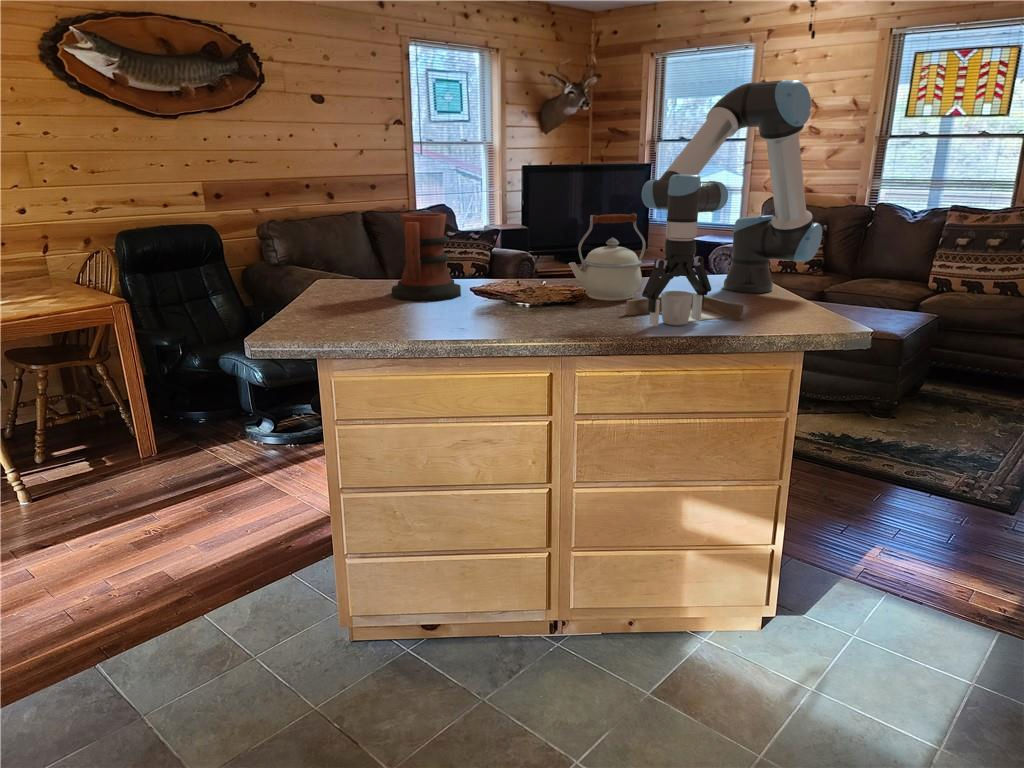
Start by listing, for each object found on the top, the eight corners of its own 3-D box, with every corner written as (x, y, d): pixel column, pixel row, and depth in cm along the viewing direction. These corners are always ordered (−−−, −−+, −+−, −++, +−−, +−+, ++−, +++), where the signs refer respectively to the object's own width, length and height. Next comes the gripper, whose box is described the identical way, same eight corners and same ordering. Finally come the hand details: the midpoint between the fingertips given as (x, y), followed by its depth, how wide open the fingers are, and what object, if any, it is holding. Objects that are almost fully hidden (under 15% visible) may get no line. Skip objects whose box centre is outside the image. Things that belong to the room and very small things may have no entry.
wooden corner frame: (692, 306, 211) (693, 293, 210) (742, 320, 194) (743, 305, 193) (625, 314, 201) (626, 300, 200) (671, 329, 184) (672, 314, 183)
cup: (691, 330, 184) (693, 299, 181) (659, 329, 185) (660, 297, 183) (690, 321, 194) (692, 291, 191) (659, 319, 195) (661, 290, 193)
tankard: (468, 289, 238) (467, 212, 230) (449, 305, 215) (446, 219, 207) (404, 288, 242) (400, 211, 234) (377, 302, 218) (372, 218, 211)
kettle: (628, 289, 238) (632, 210, 230) (656, 299, 221) (661, 215, 214) (557, 294, 230) (558, 213, 223) (580, 305, 214) (582, 218, 206)
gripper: (709, 234, 191) (703, 314, 198) (630, 239, 181) (626, 324, 187) (729, 237, 185) (722, 319, 191) (649, 243, 174) (644, 330, 181)
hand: (675, 322), depth 189 cm, fingers open, 13 cm apart
